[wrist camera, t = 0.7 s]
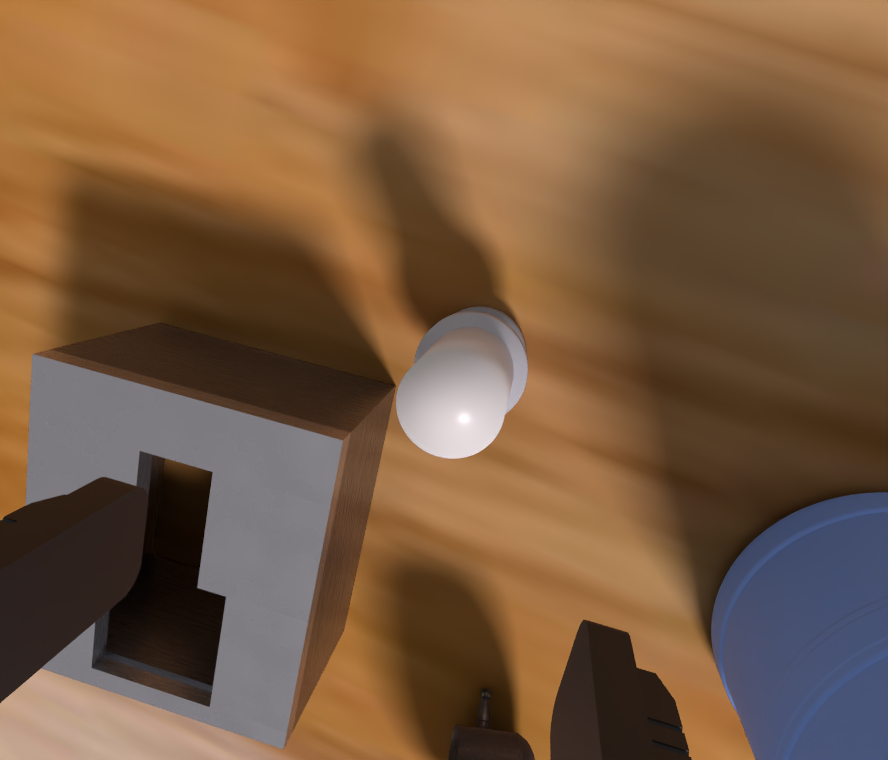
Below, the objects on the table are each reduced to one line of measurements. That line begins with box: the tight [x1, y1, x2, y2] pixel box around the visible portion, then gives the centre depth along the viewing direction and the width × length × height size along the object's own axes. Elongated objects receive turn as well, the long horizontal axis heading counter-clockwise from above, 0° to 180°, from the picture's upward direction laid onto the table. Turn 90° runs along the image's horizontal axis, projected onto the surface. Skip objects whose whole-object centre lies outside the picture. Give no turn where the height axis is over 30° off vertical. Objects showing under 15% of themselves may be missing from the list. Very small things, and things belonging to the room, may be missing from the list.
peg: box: [396, 306, 528, 459], centre depth 27 cm, size 5×5×10 cm
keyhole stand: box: [26, 323, 396, 749], centre depth 32 cm, size 16×14×9 cm
